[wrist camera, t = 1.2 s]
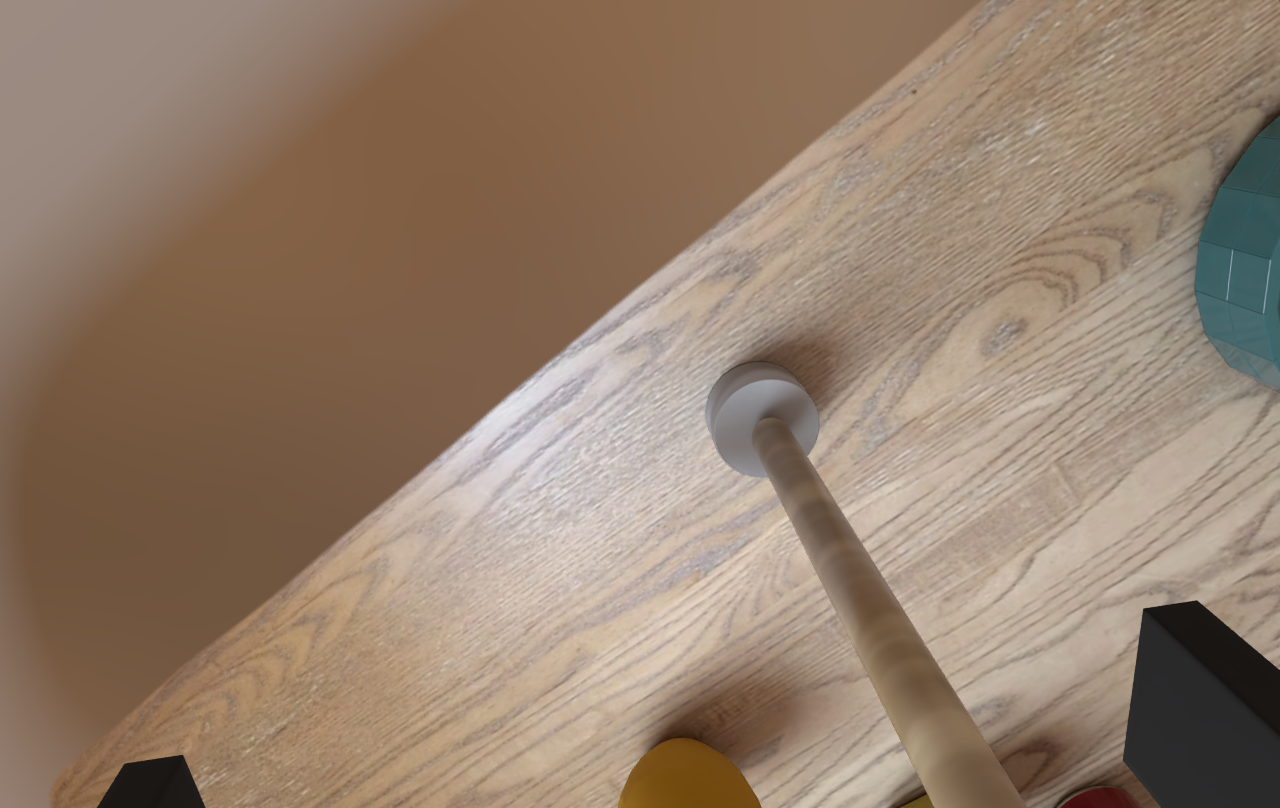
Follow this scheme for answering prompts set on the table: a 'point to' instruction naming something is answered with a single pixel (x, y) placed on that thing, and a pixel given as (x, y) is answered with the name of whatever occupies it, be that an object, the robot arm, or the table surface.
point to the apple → (686, 779)
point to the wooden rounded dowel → (856, 586)
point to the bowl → (1245, 263)
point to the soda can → (1100, 798)
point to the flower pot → (920, 803)
